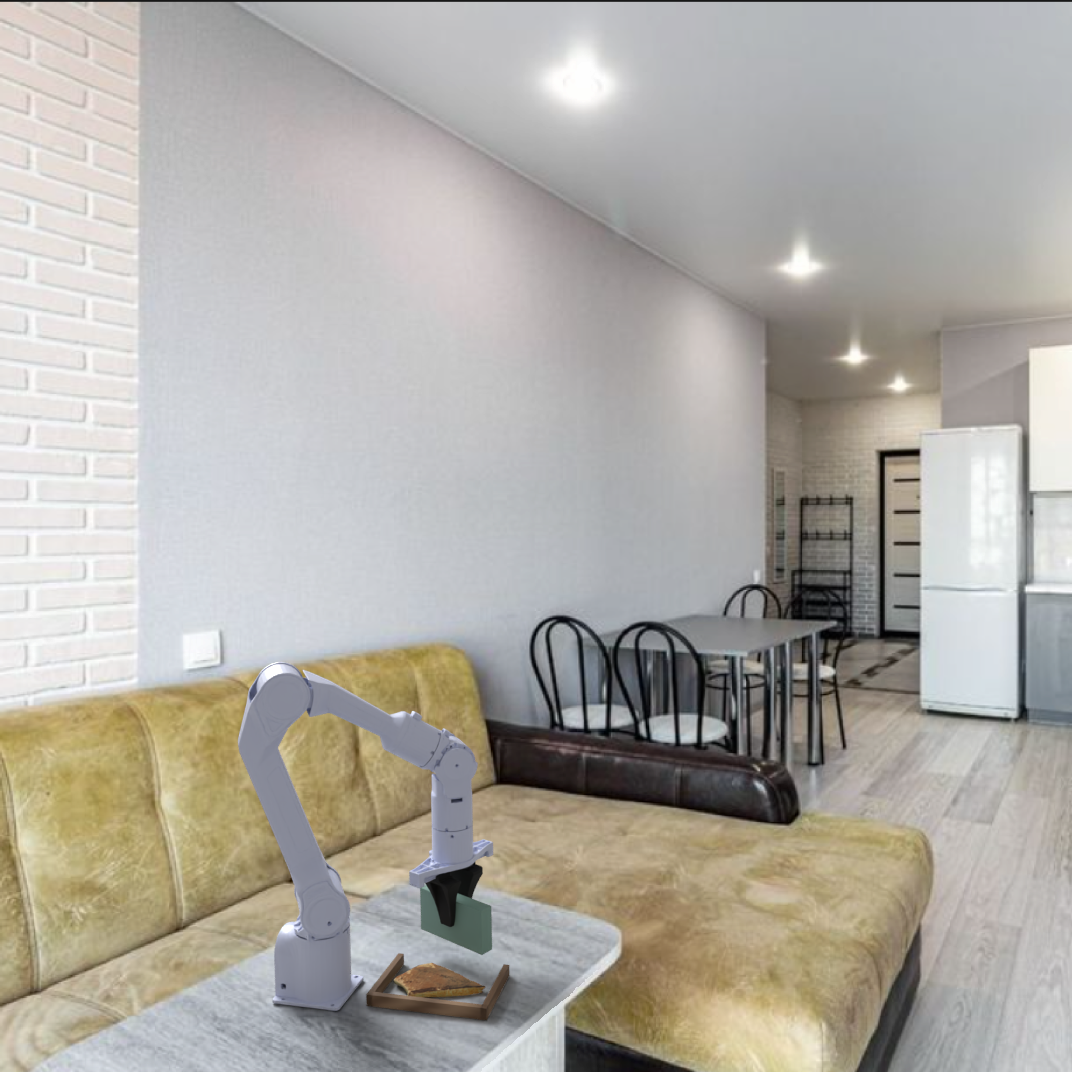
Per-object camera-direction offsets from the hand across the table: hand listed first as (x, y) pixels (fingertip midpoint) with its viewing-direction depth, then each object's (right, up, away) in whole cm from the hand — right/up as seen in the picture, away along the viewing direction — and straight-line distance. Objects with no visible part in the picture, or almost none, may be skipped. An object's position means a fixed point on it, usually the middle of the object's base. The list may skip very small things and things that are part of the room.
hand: (454, 921), depth 124 cm
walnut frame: (-1, -7, -6) cm, 9 cm away
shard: (-2, -7, -4) cm, 8 cm away
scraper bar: (0, -3, 0) cm, 3 cm away
